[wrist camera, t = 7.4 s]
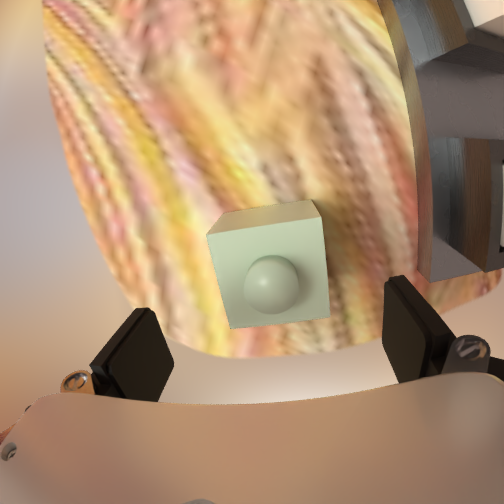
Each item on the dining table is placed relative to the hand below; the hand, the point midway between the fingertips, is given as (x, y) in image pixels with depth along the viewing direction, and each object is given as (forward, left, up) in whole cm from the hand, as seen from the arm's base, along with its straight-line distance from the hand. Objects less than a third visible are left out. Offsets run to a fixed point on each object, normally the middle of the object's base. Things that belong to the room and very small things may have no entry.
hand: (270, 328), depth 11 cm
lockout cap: (-1, 0, -8) cm, 8 cm away
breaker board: (-9, +15, -7) cm, 19 cm away
